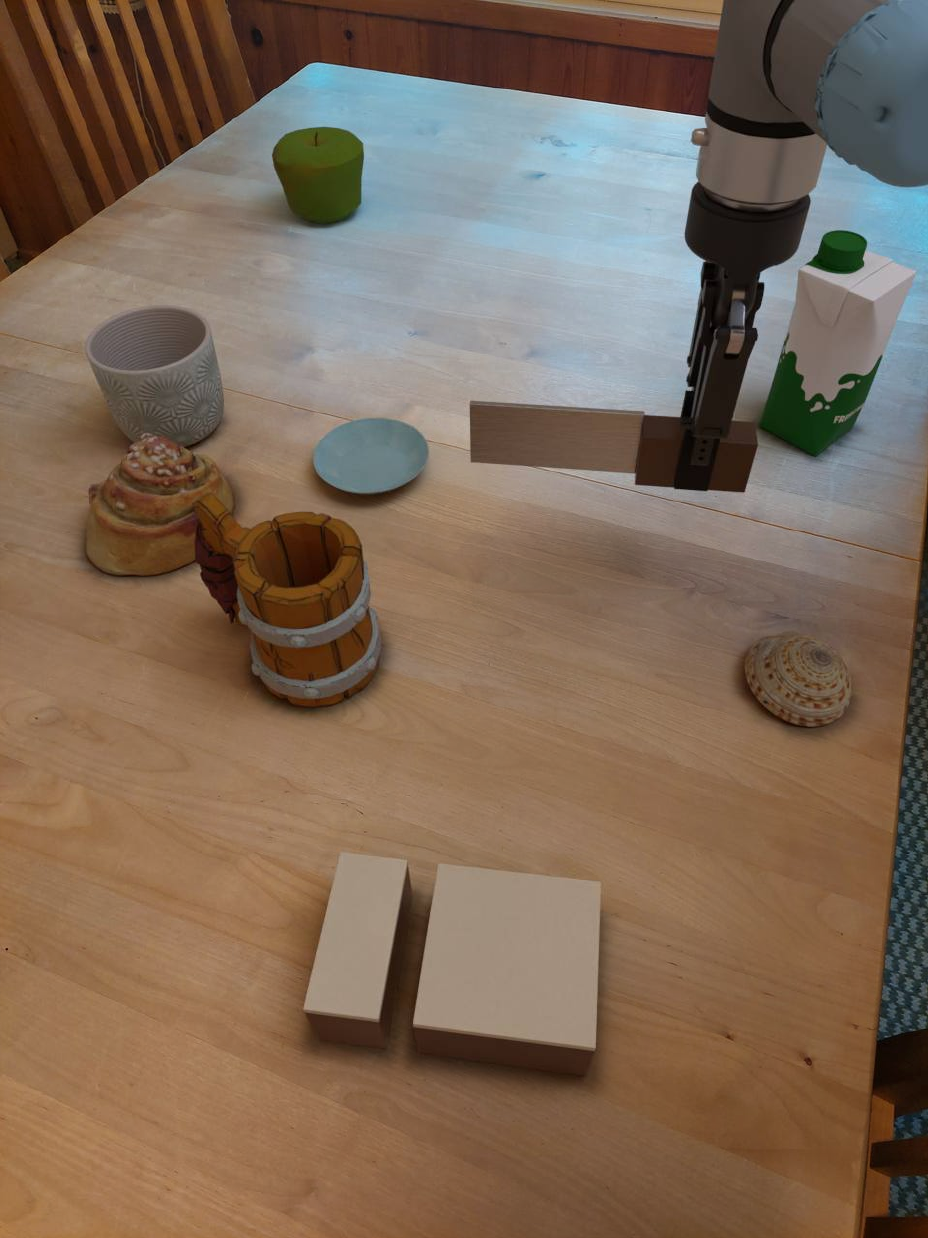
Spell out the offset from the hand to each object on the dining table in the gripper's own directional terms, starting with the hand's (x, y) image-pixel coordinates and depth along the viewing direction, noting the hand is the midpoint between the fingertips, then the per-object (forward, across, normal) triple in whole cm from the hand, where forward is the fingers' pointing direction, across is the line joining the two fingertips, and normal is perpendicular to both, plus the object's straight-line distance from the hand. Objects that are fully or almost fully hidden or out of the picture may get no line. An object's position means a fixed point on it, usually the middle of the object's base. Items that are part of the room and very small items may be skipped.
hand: (689, 472), depth 75 cm
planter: (+11, -15, -53) cm, 56 cm away
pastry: (+11, 0, -49) cm, 50 cm away
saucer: (+11, -10, -30) cm, 34 cm away
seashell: (+11, +13, +10) cm, 20 cm away
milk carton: (+11, -22, +15) cm, 29 cm away
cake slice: (+11, +40, -21) cm, 46 cm away
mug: (+11, +14, -32) cm, 37 cm away
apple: (+11, -66, -48) cm, 83 cm away
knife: (+1, 0, -7) cm, 7 cm away
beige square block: (+11, +40, -11) cm, 43 cm away
